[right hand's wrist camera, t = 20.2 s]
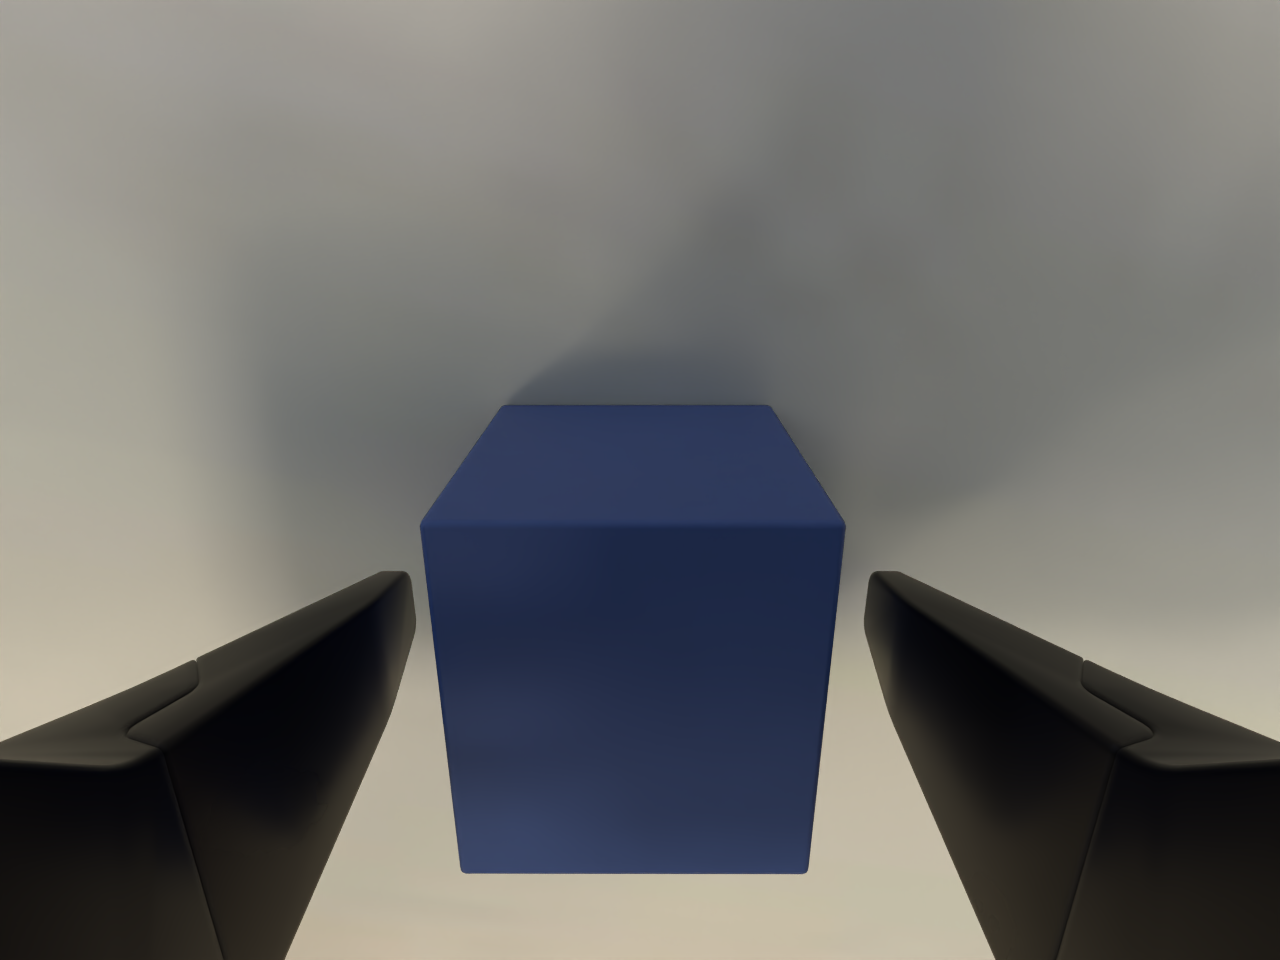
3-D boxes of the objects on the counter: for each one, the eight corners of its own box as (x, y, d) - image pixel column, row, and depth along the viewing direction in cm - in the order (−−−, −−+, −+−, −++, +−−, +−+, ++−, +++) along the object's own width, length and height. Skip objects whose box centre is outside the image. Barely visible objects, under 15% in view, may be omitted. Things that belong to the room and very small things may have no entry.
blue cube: (771, 403, 12) (848, 521, 8) (754, 657, 14) (809, 877, 10) (500, 403, 12) (416, 522, 8) (518, 658, 14) (458, 876, 10)
